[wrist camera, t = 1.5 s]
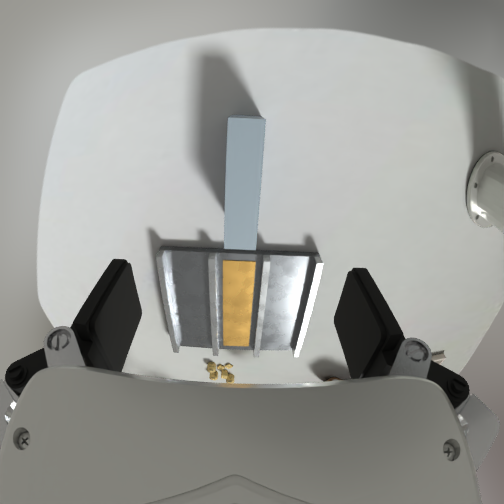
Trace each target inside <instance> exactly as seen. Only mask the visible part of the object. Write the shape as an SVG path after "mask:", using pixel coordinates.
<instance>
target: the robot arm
mask: <svg viewBox="0 0 504 504" xmlns="http://www.w3.org/2000/svg"><path fill="white" fill-rule="evenodd" d="M467 208H468V213H469V215H470V218H471V219H472V220H473V222H474V223H476V224H477V225H478V226H480V227H482V228H488V227H491V226H494V227H496V228H497V229H498V230H500V231H501V232H502V233H503V234H504V155H503V154H501V153H498V152H494V151H492V152H488V153H486V154H485V155H484V156H482V157H481V158H480V160H479V161H478V162H477V164H476V165H475V167H474V169H473V171H472V174H471V176H470V180H469V184H468V189H467ZM141 316H142V309H141V305H140V301H139V297H138V293H137V289H136V285H135V281H134V276H133V272H132V267H131V264H130V263H128V262H127V260H125V259H113V260H112V261H111V263H110V264H109V266H108V267H107V269H106V270H105V272H104V273H103V275H102V276H101V278H100V279H99V281H98V282H97V284H96V285H95V287H94V288H93V290H92V292H91V293H90V295H89V296H88V298H87V300H86V301H85V303H84V304H83V306H82V308H81V309H80V311H79V313H78V314H77V316H76V318H75V320H74V321H73V324H72V326H71V327H70V328H69V327H66V326H60V327H56V328H54V329H52V330H51V331H50V332H49V333H48V334H47V335H46V337H45V339H44V348H42V349H40V350H38V351H36V352H34V353H32V354H30V355H28V356H26V357H24V358H22V359H20V360H17V361H15V362H14V363H12V364H11V365H10V366H9V367H8V369H7V371H6V374H5V381H4V382H3V380H0V504H482V501H481V495H480V489H479V484H478V479H477V475H476V471H477V470H478V468H479V466H480V465H481V463H482V462H483V460H484V458H485V456H486V454H487V453H488V451H489V449H490V447H491V446H492V444H493V442H494V440H495V438H496V436H497V434H498V432H499V429H500V422H499V419H498V417H497V416H496V415H495V414H494V413H493V412H492V411H491V410H490V409H489V408H488V407H487V406H486V405H485V404H484V403H483V402H482V401H481V400H480V399H478V397H476V396H475V395H474V394H472V395H470V394H469V385H468V383H467V381H466V380H465V379H464V378H463V377H461V376H460V375H458V374H456V373H454V372H453V371H451V370H449V369H447V368H445V367H443V366H441V365H440V364H438V363H436V362H434V361H432V360H431V358H432V353H431V350H430V348H429V346H428V345H427V344H426V343H425V342H423V341H422V340H420V339H417V338H407V339H405V337H404V335H403V332H402V330H401V328H400V326H399V324H398V322H397V321H396V319H395V317H394V315H393V313H392V311H391V310H390V308H389V306H388V304H387V302H386V301H385V299H384V297H383V295H382V294H381V292H380V290H379V289H378V287H377V285H376V283H375V282H374V280H373V278H372V277H371V275H370V273H369V272H368V270H367V269H366V268H353V269H352V271H349V272H348V274H347V278H346V281H345V284H344V288H343V291H342V294H341V297H340V301H339V304H338V307H337V310H336V313H335V316H334V324H335V327H336V330H337V333H338V337H339V340H340V343H341V346H342V349H343V352H344V355H345V359H346V362H347V365H348V368H349V372H350V375H351V378H352V379H350V380H339V381H327V382H313V383H293V384H231V383H211V382H197V381H185V380H175V379H166V378H158V377H150V376H143V375H136V374H130V373H123V372H122V369H123V366H124V363H125V360H126V357H127V354H128V352H129V349H130V346H131V343H132V340H133V338H134V335H135V332H136V330H137V327H138V324H139V322H140V319H141Z"/></svg>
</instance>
